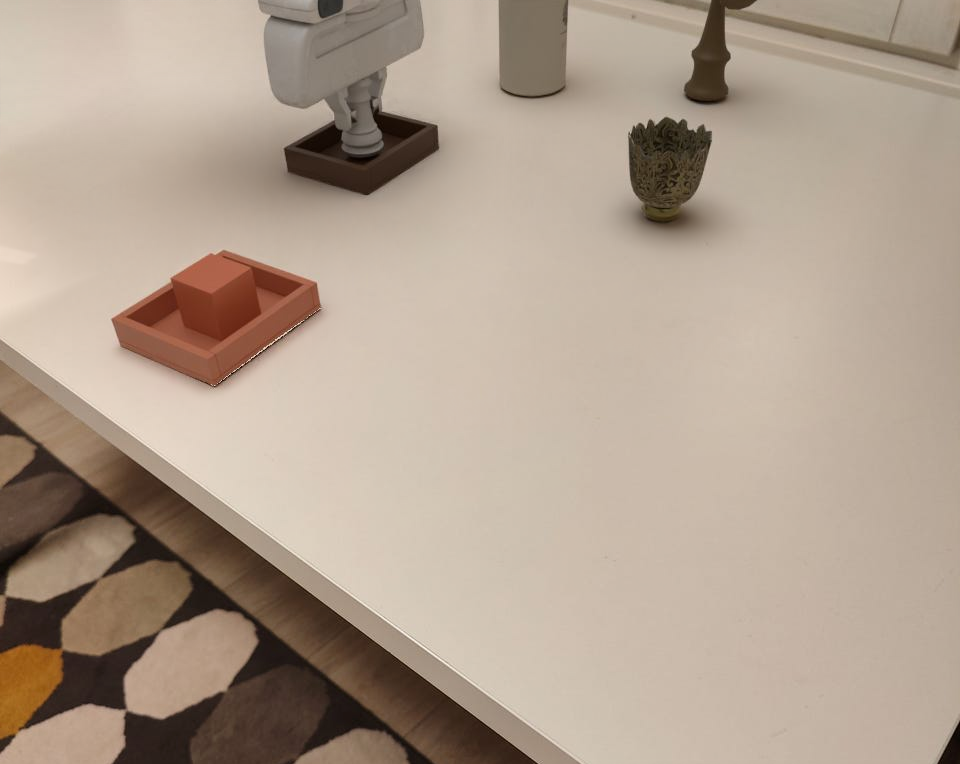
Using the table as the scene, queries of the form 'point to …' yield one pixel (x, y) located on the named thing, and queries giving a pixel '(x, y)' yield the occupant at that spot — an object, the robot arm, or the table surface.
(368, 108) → the rook chess piece
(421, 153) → the walnut tray
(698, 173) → the cup
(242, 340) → the terracotta tray
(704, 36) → the kendama
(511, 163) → the table surface
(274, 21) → the robot arm
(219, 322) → the terracotta block
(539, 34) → the travel mug
